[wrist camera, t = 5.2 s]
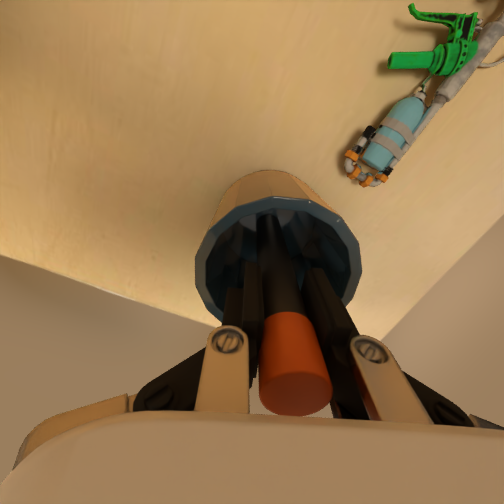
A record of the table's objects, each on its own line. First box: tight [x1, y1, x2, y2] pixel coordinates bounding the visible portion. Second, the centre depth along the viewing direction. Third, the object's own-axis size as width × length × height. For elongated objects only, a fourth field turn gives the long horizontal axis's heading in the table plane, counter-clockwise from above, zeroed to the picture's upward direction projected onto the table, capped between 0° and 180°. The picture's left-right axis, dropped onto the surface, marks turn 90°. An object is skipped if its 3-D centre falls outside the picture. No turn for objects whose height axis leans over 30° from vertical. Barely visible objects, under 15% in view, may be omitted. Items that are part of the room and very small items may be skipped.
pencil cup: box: [195, 170, 362, 322], centre depth 17 cm, size 9×9×9 cm
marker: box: [256, 214, 333, 416], centre depth 13 cm, size 2×2×14 cm
